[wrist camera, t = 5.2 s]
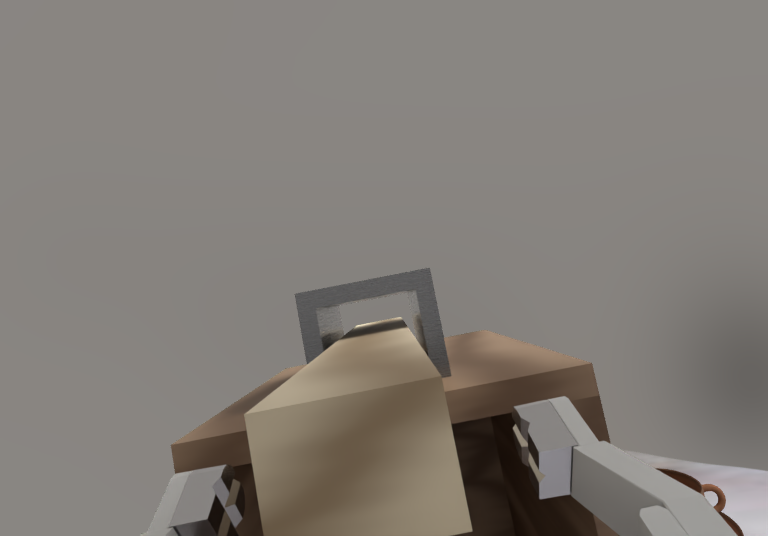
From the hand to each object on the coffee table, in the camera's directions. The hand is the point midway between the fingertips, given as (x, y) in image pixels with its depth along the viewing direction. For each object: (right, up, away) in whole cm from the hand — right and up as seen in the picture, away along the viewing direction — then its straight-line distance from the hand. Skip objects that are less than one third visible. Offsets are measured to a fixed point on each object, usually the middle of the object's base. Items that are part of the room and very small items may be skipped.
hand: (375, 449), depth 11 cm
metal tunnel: (0, -2, +15) cm, 15 cm away
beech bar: (0, -1, +10) cm, 10 cm away
